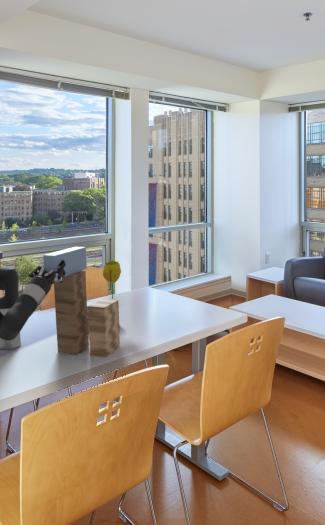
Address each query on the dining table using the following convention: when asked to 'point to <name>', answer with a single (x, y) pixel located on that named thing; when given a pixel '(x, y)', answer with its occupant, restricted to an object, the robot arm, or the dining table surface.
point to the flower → (112, 272)
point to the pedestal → (71, 314)
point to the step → (104, 327)
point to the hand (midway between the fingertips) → (57, 261)
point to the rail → (67, 260)
